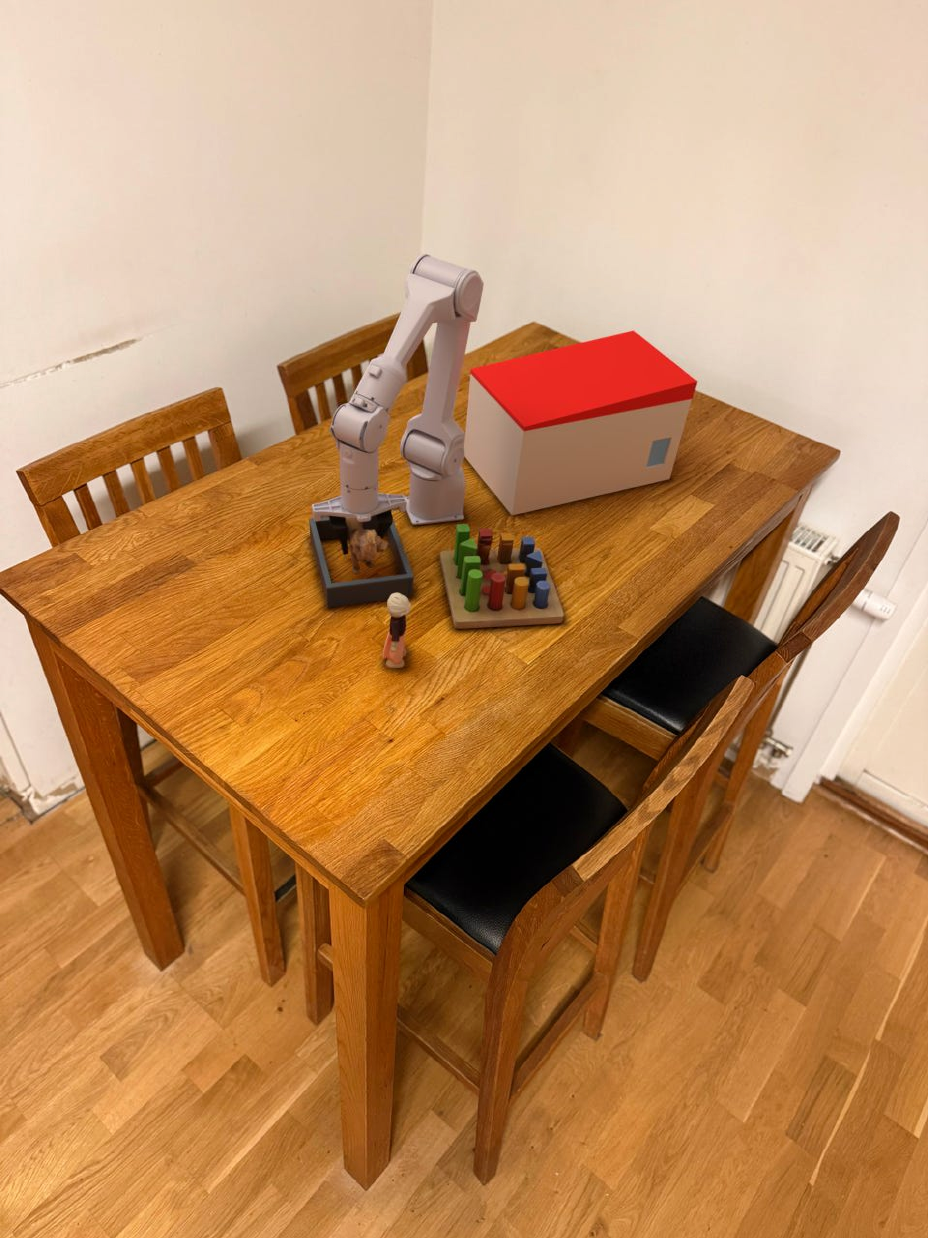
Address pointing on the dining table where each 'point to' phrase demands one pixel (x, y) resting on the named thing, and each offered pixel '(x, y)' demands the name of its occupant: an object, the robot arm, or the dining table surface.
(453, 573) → the peg board
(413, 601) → the dining table surface
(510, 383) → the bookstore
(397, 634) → the grandmother figurine
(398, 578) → the crate
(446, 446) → the robot arm
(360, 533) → the lion figurine
